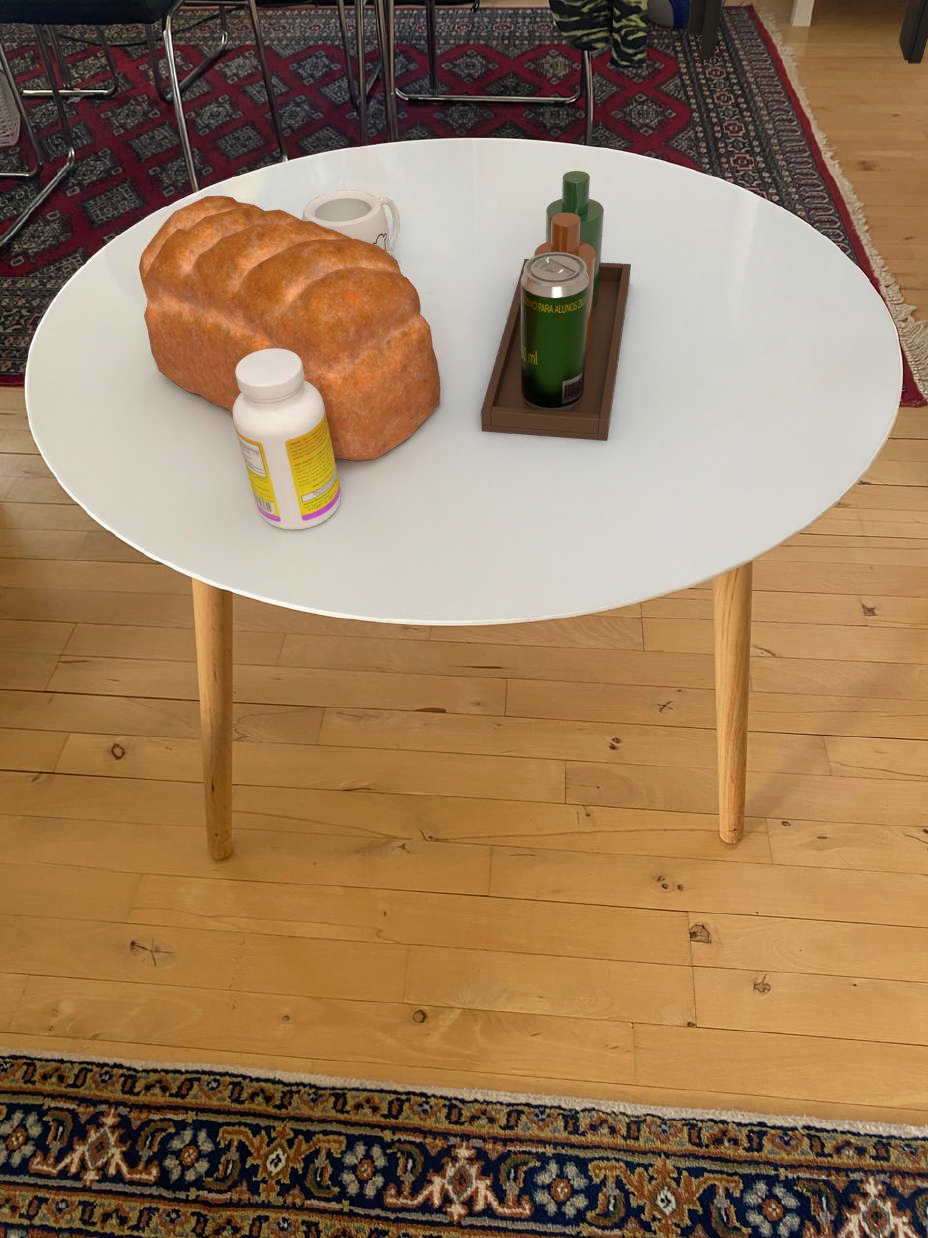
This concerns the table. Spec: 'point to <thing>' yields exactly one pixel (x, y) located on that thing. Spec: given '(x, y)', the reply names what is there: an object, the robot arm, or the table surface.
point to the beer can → (553, 330)
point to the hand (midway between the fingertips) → (806, 51)
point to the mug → (355, 216)
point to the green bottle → (581, 216)
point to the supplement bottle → (285, 440)
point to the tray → (594, 408)
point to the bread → (291, 317)
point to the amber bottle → (572, 252)
